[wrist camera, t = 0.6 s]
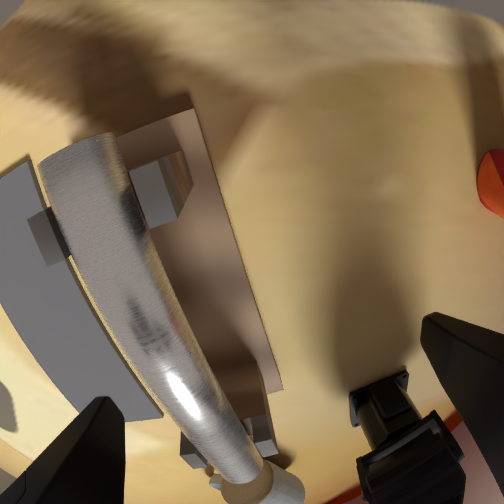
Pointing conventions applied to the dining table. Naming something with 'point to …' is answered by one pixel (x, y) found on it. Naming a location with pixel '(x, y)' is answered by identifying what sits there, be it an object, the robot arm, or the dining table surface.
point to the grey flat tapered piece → (59, 311)
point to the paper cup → (492, 181)
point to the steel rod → (142, 299)
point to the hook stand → (195, 265)
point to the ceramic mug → (262, 487)
